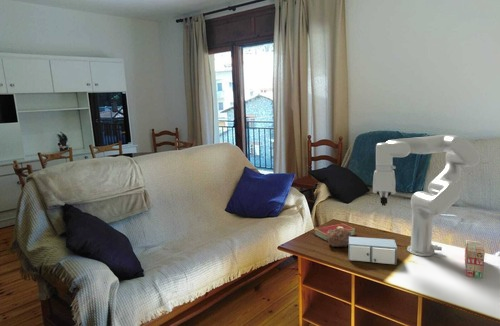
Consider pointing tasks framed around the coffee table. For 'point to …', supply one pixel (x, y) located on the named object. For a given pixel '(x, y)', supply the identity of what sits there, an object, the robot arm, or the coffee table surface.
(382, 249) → the left door
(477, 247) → the stack of blocks
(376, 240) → the cabinet
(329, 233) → the decorative rock
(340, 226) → the hardcover book
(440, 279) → the coffee table surface
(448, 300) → the coffee table surface
